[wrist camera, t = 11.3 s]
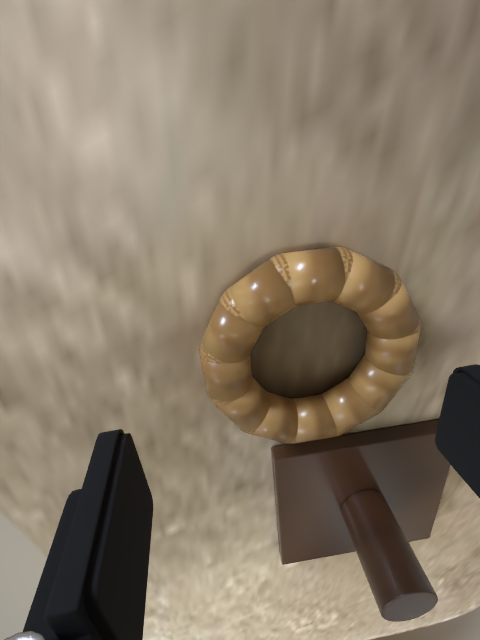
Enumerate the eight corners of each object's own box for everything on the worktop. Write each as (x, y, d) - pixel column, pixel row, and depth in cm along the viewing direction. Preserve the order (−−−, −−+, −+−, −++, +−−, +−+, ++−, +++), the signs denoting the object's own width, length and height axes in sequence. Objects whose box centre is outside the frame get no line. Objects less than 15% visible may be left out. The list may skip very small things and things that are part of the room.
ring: (216, 432, 15) (218, 465, 14) (185, 259, 11) (182, 277, 10) (390, 404, 16) (411, 434, 14) (415, 229, 12) (449, 242, 10)
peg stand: (279, 550, 20) (303, 671, 16) (270, 446, 16) (301, 569, 11) (421, 525, 21) (487, 635, 16) (450, 417, 17) (549, 523, 12)
